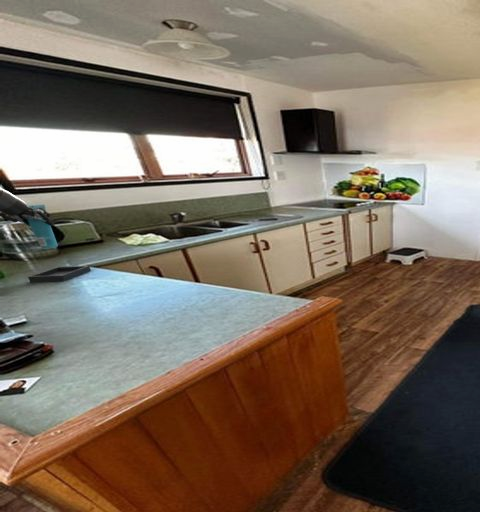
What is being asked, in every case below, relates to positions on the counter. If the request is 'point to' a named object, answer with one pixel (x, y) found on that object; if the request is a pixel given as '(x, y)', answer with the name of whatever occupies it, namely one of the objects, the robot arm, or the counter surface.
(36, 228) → the tube
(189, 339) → the counter surface
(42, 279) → the tray
